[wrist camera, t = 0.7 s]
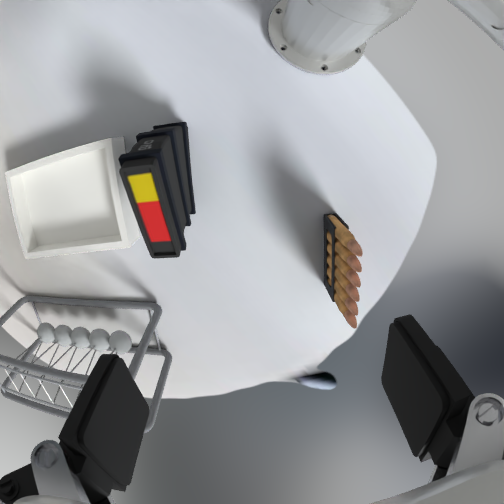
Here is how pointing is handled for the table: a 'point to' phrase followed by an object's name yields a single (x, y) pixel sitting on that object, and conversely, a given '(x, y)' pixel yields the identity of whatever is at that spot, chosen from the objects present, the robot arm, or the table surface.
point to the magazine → (160, 187)
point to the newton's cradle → (82, 340)
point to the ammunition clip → (341, 266)
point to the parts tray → (73, 202)
